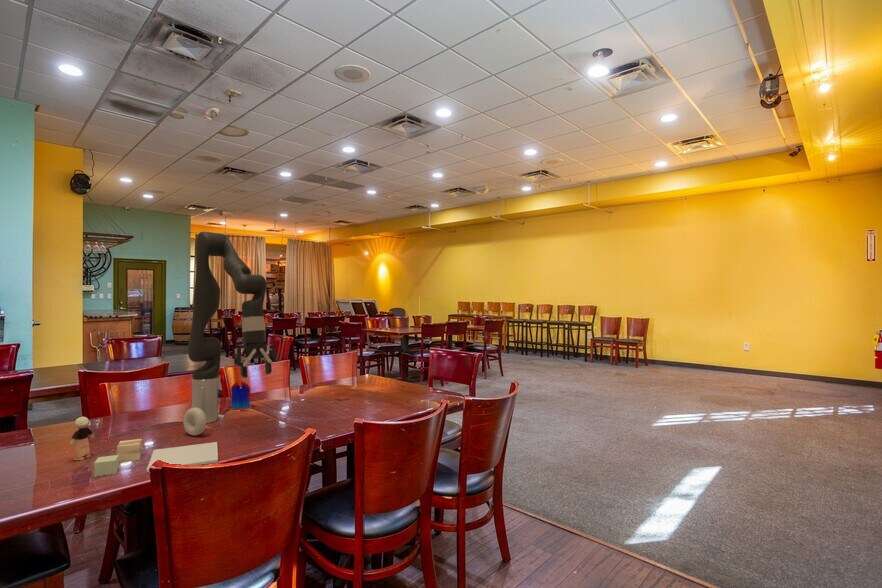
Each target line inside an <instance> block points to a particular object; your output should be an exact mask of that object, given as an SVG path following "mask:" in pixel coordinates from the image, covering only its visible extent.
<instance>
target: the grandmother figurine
mask: <svg viewBox="0 0 882 588" xmlns="http://www.w3.org/2000/svg"><path fill="white" fill-rule="evenodd" d="M89 423H90V420H89V418H88V417H86V416H80V417H78V418H76V420H75V426H76V428H77V429H78V430H75V431H74V433H73V434H72V436H71V438H70V442H69V445H70V446H73V445H74V450H73V457H74V458H73V461H74V460H80V461H83V460H85V459H87V458H91V454H90V451H91V450H90V442H89V439H88V438H89V437H90V439H95V437H96V436H95V434H94V432H93V430H91V429H90V428H89V427H88V426H87V425H88V424H89Z"/></svg>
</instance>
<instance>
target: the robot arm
mask: <svg viewBox="0 0 882 588" xmlns="http://www.w3.org/2000/svg"><path fill="white" fill-rule="evenodd" d="M210 257H222V258H224V261H223V268H224V271H225V273H227V275H228V276H229V277H230V279H232V283H233V287H234V289H235V291H236V292H238V294H242V295H252V297H251V298H252V299H249V300H246V301H243V302H242V304H241V317H242V319H241V331H242V333H241V334H242V344H243V347H235V348H234V349H233V351H234V353H233V354H234V355H233V356H234V357H233V358H234V360H233V364H234V366H237V367H239V368H240V376H241V377H242V378H243V379H246V378H248V377H249V376H248V366H247V365H248V364H249V362H250V361H251V360H254V359H255V360H256V359H260V360H262V361H263V362H265V364H264V369H265V375H271V373H272V370H273V369H272V363H273V362H275V361H277V355H276V347H275V346H276V345H275V344H269V345H267V344H266V343H267V337H266V334H267V333H266V323H265V318H264V301H265V297H266V293H267V287H268V282H267V279H266V278H265V276H263V275H261V274H252V271H251V269H250V267H249V266H248V265H247V264H246V263H245V262H244V261H243V260H242V259H241V258H240V256H239V254H238V253H237V251H236V249H235V247H234V245H233V244H232V242H231V240H230V239H229V237H228V236H227V235H226V234H223V233H219V232H218V233H217V232H210V231H200V232H199V233H198V234H197V236H196V241H195V281H194V289H193V301H192V302H193V303H192V304H193V305H192V306H193V307H192V318H191V319H192V320H191V326H190V327H191V328H190V334H189V337H188V338H189V339H188V344H187V355H188V359H189V360H190V361H191V362H192V363H197V362H204V364H203V365H202V366H201V367H199V368H197V369H195V370H193V372H192V374H191V375H192V380H191V381H192V383H191V384H192V385H191V390H192V391H191V408H195V407H197V408H200V409H201V410H202V411H203V412H204V414H205V416H206V421H207V423H206V424H209V423H214V422H216V421H218V417H219V416H218V415H219V410H218V409H219V373H220V370H221V355H222V345H221V342H220V341H221V340H219V338H217V337H215V336H214V337H213V336H212V337H204V333H205V330H206V327H207V325H208V324H209V322H210V321H211V319H212V318H213V317H214V315H215V314H216V312H217V311H218V310H219V307H220V301H221V288H220V285H219V283H218V281H217V280H216V277H215V276H214V275H213V272H212V270H211V268H210V267H211V266H210V261H209V260H210V259H209V258H210ZM267 351H268V354H267ZM242 354H244V355H243V357H242ZM194 423H195V425H196V420H195V418H194Z"/></svg>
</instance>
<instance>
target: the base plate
mask: <svg viewBox="0 0 882 588" xmlns="http://www.w3.org/2000/svg"><path fill="white" fill-rule="evenodd" d="M218 452H219V451H218V441H215V442H213V441H212V442H205V443H199V444H197V443H196V444H191V445H183V446H172V447H165V448H159V449H153V451H152V454H151V456H150V459H149V462H148V465H147V468H146V473H150V472H149V468H150V466H151V465H152V464H153V463H154V462H155V461H157V460H161V461H163V462H166V463H169V464H181V465H196V466H201V465H202V464H203V465H210V464H216V463H218V462H219V453H218Z"/></svg>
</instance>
